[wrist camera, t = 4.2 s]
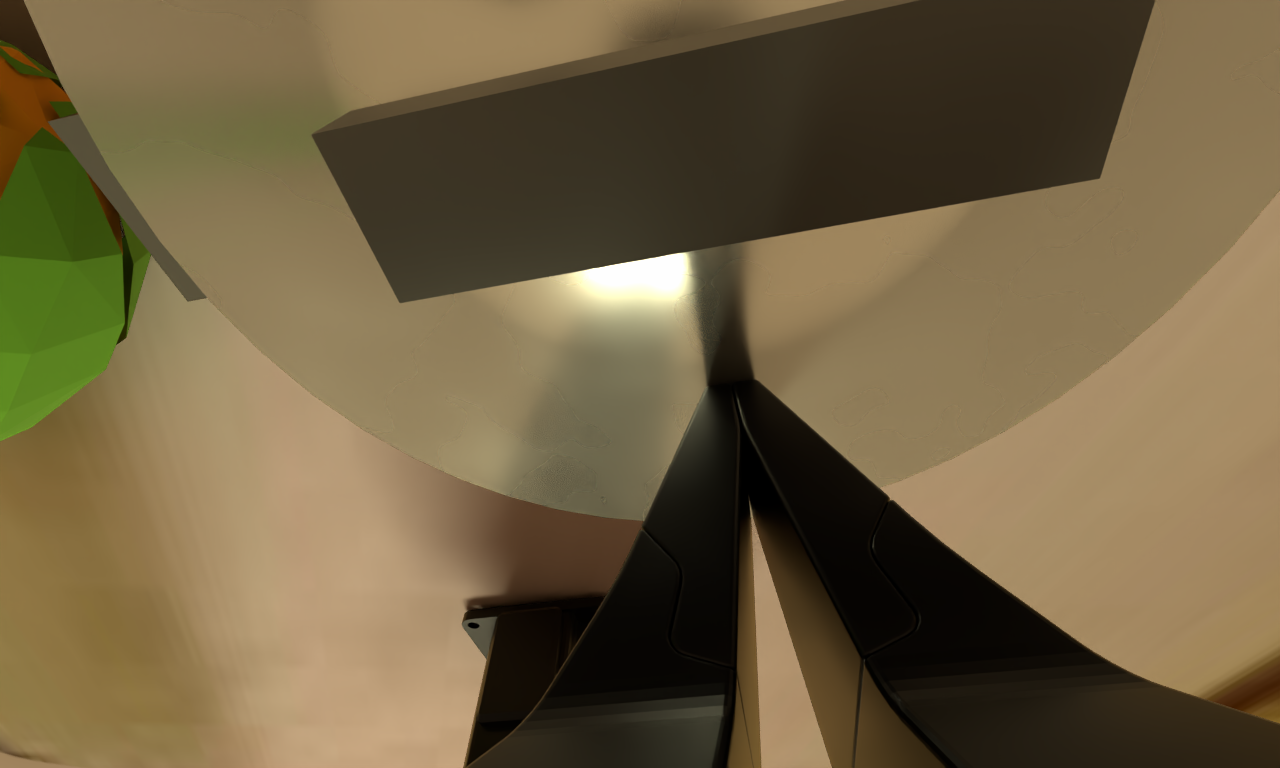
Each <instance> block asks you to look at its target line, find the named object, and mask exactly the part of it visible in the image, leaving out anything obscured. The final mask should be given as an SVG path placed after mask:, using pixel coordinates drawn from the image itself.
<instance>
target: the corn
mask: <svg viewBox="0 0 1280 768" xmlns="http://www.w3.org/2000/svg"><path fill="white" fill-rule="evenodd" d="M61 87H62V84H61V83H60V80H59V78H58V76H57V75H56V74H54V73H53V72H51V71H50V70H48V69H47V68H45V67H44V66H43V65H41V64H40V63H38V62H37V61H35V60H34V59H33V58H31V57H30V56H28V55H27V54H25V53H24V52H22V51H21V50H20V49H18V48H17V47H15V46H14V45H12V44H9V43H7V42H4V41H1V40H0V441H2V440H4V439H6V438H8V437H11V436H13V435H15V434H18V433H20V432H22V431H24V430H27V429H29V428H31V427H33V426H34V425H35V424H37V423H38V422H39V421H40V420H42V419H43V418H44V417H46V416H47V415H48V414H49V413H51V412H52V411H53V410H55V409H56V408H57V407H58V406H60V405H61V404H62V403H63V402H65V401H66V400H67V399H69V398H70V397H71V396H72V395H74V394H75V393H76V392H78V391H79V390H80V389H81V388H83V387H84V386H85V385H86V384H88V383H89V382H90V381H92V380H93V379H94V378H95V377H97V376H98V375H99V374H101V373H102V372H103V371H104V370H106V368H107V365H108V363H109V361H110V358H111V356H112V353H113V351H114V348H115V346H116V345H117V344H118V343H120V342H121V341H122V340H124V339H125V338H126V337H127V334H128V330H129V327H130V324H131V320H132V317H133V314H134V310H135V307H136V303H137V300H138V297H139V293H140V290H141V287H142V283H143V280H144V277H145V273H146V270H147V266H148V263H149V260H150V256H151V254H150V252H149V251H148V250H147V249H146V247H145V246H144V245H143V244H142V242H141V241H140V240H139V238H138V237H137V236H136V235H135V233H134V232H133V231H132V229H131V228H130V227H129V226H128V224H127V223H126V222H125V220H124V219H123V218H122V217H121V215H120V214H119V213H118V211H117V210H116V209H115V208H114V206H113V205H112V204H111V203H110V201H109V200H108V199H107V197H106V196H105V195H104V194H103V192H102V191H101V190H100V188H99V187H98V186H97V185H96V183H95V182H94V181H93V179H92V178H91V177H90V176H89V174H88V173H87V172H86V170H85V169H84V168H83V167H82V165H81V164H80V163H79V162H78V160H77V159H76V158H75V156H74V155H73V154H72V153H71V151H70V150H69V149H68V147H67V146H66V145H65V144H64V142H63V141H62V140H61V138H60V137H59V136H58V135H57V133H56V132H55V131H54V129H53V128H52V127H51V126H50V124H49V123H48V121H52V120H55V119H58V118H62V117H65V116H69V115H72V114H75V113H78V112H77V111H76V109H75V107H74V105H73V104H72V102H71V100H70V98H69V97H68V95H67V94H66V93H65V92H64V91H63V90H62V89H61ZM119 215H120V216H119ZM120 219H121V222H122V226H123V229H124V233H125V236H124V237H123V238H122V237H121V227H120Z"/></svg>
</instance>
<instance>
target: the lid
mask: <svg viewBox="0 0 1280 768" xmlns="http://www.w3.org/2000/svg"><path fill="white" fill-rule="evenodd" d="M24 2H25V5H26V7H27V9H28V11H29V14H30V16H31V18H32V20H33V23H34V25H35V27H36V29H37V31H38V34H39V36H40V38H41V40H42V43H43V45H44V47H45V49H46V51H47V54H48V56H49V58H50V60H51V63H52V65H53V67H54V69H55V71H56V74H57V76H58V78H59V80H60V83H61V84H62V86H63V88H64V90H65V91H66V93H67V95H68V97H69V98H70V100H71V102H72V104H73V105H74V107H75V109H76V111H77V112H78V114H79V116H80V118H81V120H82V121H83V123H84V125H85V127H86V128H87V130H88V132H89V134H90V135H91V137H92V139H93V141H94V142H95V144H96V146H97V148H98V149H99V151H100V153H101V155H102V157H103V158H104V160H105V162H106V164H107V165H108V167H109V169H110V170H111V172H112V173H113V175H114V176H115V178H116V179H117V180H118V182H119V183H120V185H121V186H122V188H123V189H124V190H125V192H126V193H127V195H128V196H129V198H130V199H131V201H132V202H133V203H134V205H135V206H136V208H137V209H138V211H139V212H140V213H141V215H142V216H143V218H144V219H145V221H146V222H147V224H148V225H149V226H150V228H151V229H152V231H153V232H154V234H155V235H156V236H157V238H158V239H159V241H160V242H161V243H162V245H163V246H164V247H165V248H166V249H167V250H168V252H169V253H170V254H171V255H172V256H173V258H174V259H175V260H176V261H177V262H178V264H179V265H180V266H181V267H182V268H183V269H184V271H185V272H186V273H187V274H188V275H189V277H190V278H191V279H192V280H193V281H194V283H195V284H196V285H197V286H198V287H199V289H200V290H201V291H202V292H203V293H204V294H205V296H206V297H207V298H208V299H209V300H210V302H211V303H212V304H213V305H214V306H215V307H216V308H217V309H218V310H219V311H220V312H221V313H222V314H223V315H224V316H225V317H226V318H227V319H228V320H229V321H230V322H231V323H232V324H233V325H234V326H235V327H236V328H237V329H238V330H239V331H240V332H241V333H242V334H243V335H244V336H246V337H247V338H248V339H249V340H250V341H251V342H252V343H253V344H254V345H255V346H256V347H257V348H258V349H259V350H260V351H261V352H262V353H263V354H264V355H265V356H266V357H268V358H269V359H270V360H271V361H272V362H274V363H275V364H276V365H277V366H278V367H280V368H281V369H282V370H283V371H284V372H286V373H287V374H288V375H289V376H290V377H292V378H293V379H294V380H295V381H296V382H298V383H299V384H300V385H301V386H303V387H304V388H305V389H306V390H307V391H309V392H310V393H311V394H312V395H314V396H315V397H316V398H318V399H319V400H321V401H322V402H324V403H325V404H327V405H328V406H329V407H331V408H332V409H334V410H335V411H337V412H338V413H340V414H341V415H343V416H344V417H345V418H347V419H348V420H350V421H351V422H353V423H354V424H356V425H357V426H358V427H360V428H361V429H363V430H365V431H366V432H368V433H370V434H372V435H373V436H375V437H377V438H379V439H381V440H382V441H384V442H386V443H388V444H389V445H391V446H393V447H395V448H396V449H398V450H400V451H402V452H403V453H405V454H407V455H409V456H411V457H412V458H415V459H417V460H419V461H421V462H423V463H425V464H428V465H430V466H432V467H434V468H436V469H439V470H441V471H443V472H445V473H447V474H450V475H452V476H454V477H456V478H458V479H461V480H463V481H466V482H469V483H472V484H475V485H477V486H480V487H483V488H486V489H489V490H491V491H494V492H497V493H500V494H503V495H505V496H508V497H512V498H516V499H519V500H523V501H527V502H531V503H535V504H539V505H542V506H546V507H550V508H554V509H558V510H564V511H569V512H575V513H581V514H587V515H593V516H598V517H604V518H615V519H626V520H638V521H644V520H645V518H646V516H647V514H648V511H649V509H650V507H651V505H652V503H653V500H654V498H655V496H656V494H657V492H658V490H659V487H660V485H661V483H662V481H663V479H664V477H665V474H666V472H667V470H668V468H669V466H670V463H671V461H672V459H673V457H674V455H675V453H676V450H677V448H678V446H679V444H680V442H681V439H682V437H683V435H684V433H685V431H686V429H687V426H688V424H689V422H690V420H691V418H692V415H693V413H694V411H695V409H696V407H697V405H698V402H699V400H700V398H701V396H702V394H703V391H704V390H705V388H706V387H707V386H711V385H718V384H725V383H728V384H730V385H731V386H732V385H733V383H734V382H739V381H745V380H752V379H756V380H758V381H760V382H761V383H762V384H763V385H764V386H765V387H766V388H767V389H769V390H770V391H771V392H772V393H773V394H774V395H775V396H776V397H778V398H779V399H780V400H781V401H782V402H783V403H784V404H785V405H787V406H788V407H789V408H790V409H791V410H792V411H793V412H794V413H796V414H797V415H798V416H799V417H800V418H801V419H802V420H803V421H805V422H806V423H807V424H808V425H809V426H810V427H811V428H812V429H814V430H815V431H816V432H817V433H818V434H819V435H820V436H821V437H823V438H824V439H825V440H826V441H827V442H828V443H829V444H830V445H832V446H833V447H834V448H835V449H836V450H837V451H838V452H839V453H840V454H842V455H843V456H844V457H845V458H846V459H847V460H848V461H849V462H851V463H852V464H853V465H854V466H855V467H856V468H857V469H858V470H860V471H861V472H862V473H863V474H864V475H865V476H866V477H867V478H869V479H870V480H871V481H872V482H873V483H874V484H875V485H876V486H878V487H879V488H880V487H883V486H886V485H889V484H892V483H895V482H898V481H901V480H903V479H906V478H908V477H910V476H913V475H915V474H918V473H920V472H922V471H925V470H927V469H929V468H932V467H934V466H937V465H939V464H941V463H944V462H946V461H948V460H951V459H953V458H955V457H957V456H959V455H960V454H962V453H964V452H966V451H968V450H970V449H972V448H974V447H976V446H978V445H980V444H982V443H984V442H986V441H987V440H989V439H991V438H993V437H995V436H997V435H999V434H1001V433H1003V432H1005V431H1006V430H1008V429H1010V428H1011V427H1013V426H1014V425H1016V424H1018V423H1019V422H1021V421H1022V420H1024V419H1026V418H1027V417H1029V416H1031V415H1032V414H1034V413H1035V412H1037V411H1039V410H1040V409H1042V408H1043V407H1045V406H1047V405H1048V404H1050V403H1051V402H1053V401H1055V400H1056V399H1058V398H1059V397H1061V396H1062V395H1063V394H1065V393H1066V392H1068V391H1069V390H1070V389H1072V388H1073V387H1074V386H1076V385H1077V384H1078V383H1080V382H1081V381H1083V380H1084V379H1085V378H1087V377H1088V376H1089V375H1091V374H1092V373H1093V372H1095V371H1096V370H1097V369H1099V368H1100V367H1102V366H1103V365H1104V364H1106V363H1107V362H1108V361H1110V360H1111V359H1112V358H1114V357H1115V356H1116V355H1117V354H1119V353H1120V352H1121V351H1122V350H1123V349H1124V348H1126V347H1127V346H1128V345H1129V344H1130V343H1131V342H1133V341H1134V340H1135V339H1136V338H1137V337H1138V336H1139V335H1141V334H1142V333H1143V332H1144V331H1145V330H1146V329H1148V328H1149V327H1150V326H1151V325H1152V324H1153V323H1155V322H1156V321H1157V320H1158V319H1159V318H1160V317H1161V316H1163V315H1164V314H1165V313H1166V312H1167V311H1168V310H1170V309H1171V308H1172V307H1173V306H1174V305H1175V304H1176V303H1177V302H1178V301H1179V300H1180V299H1181V298H1182V297H1183V296H1184V295H1185V294H1186V293H1187V292H1188V291H1189V290H1190V289H1191V288H1192V287H1193V286H1194V285H1195V284H1196V283H1197V282H1198V281H1199V280H1200V279H1201V278H1202V277H1203V276H1204V275H1205V274H1206V273H1207V272H1208V271H1209V270H1210V269H1211V268H1212V267H1213V266H1214V265H1215V264H1216V263H1217V262H1218V261H1219V260H1220V259H1221V258H1222V257H1223V255H1224V254H1225V253H1226V252H1227V251H1228V250H1229V249H1230V248H1231V247H1232V246H1233V245H1234V244H1235V243H1236V242H1237V240H1238V239H1239V238H1240V237H1241V236H1242V234H1243V233H1244V232H1245V231H1246V230H1247V228H1248V227H1249V226H1250V225H1251V224H1252V223H1253V221H1254V220H1255V219H1256V218H1257V217H1258V215H1259V214H1260V213H1261V212H1262V211H1263V210H1264V208H1265V207H1266V206H1267V205H1268V204H1269V202H1270V201H1271V200H1272V199H1273V198H1274V197H1275V195H1276V194H1277V193H1278V192H1279V191H1280V0H24ZM749 502H750V501H749ZM750 511H751V506H750ZM751 518H753V515H752V511H751Z"/></svg>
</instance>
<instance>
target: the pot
mask: <svg viewBox="0 0 1280 768" xmlns="http://www.w3.org/2000/svg"><path fill="white" fill-rule="evenodd" d="M48 123H49V124H50V126H51V127H52V128H53V129H54V131H55V132H56V133H57V135H58V136H59V137H60V138H61V140H62V141H63V142H64V144H65V145H66V146H67V147H68V149H69V150H70V151H71V153H72V154H73V155H74V156H75V158H76V159H77V160H78V162H79V163H80V164H81V165H82V167H83V168H84V169H85V170H86V172H87V173H88V174H89V176H90V177H91V178H92V179H93V181H94V182H95V183H96V185H97V186H98V187H99V188H100V190H101V191H102V192H103V194H104V195H105V196H106V197H107V199H108V200H109V201H110V203H111V204H112V205H113V206H114V208H115V209H116V210H117V211H118V213H119V214H120V215H121V217H122V218H123V219H124V220H125V222H126V223H127V224H128V226H129V227H130V228H131V229H132V231H133V232H134V233H135V235H136V236H137V237H138V238H139V240H140V241H141V242H142V244H143V245H144V246H145V247H146V249H147V250H148V251H149V252H150V254H151V255H152V256H153V258H154V259H155V260H156V261H157V263H158V264H159V265H160V267H161V268H162V269H163V270H164V272H165V273H166V274H167V276H168V277H169V278H170V279H171V281H172V282H173V283H174V285H175V286H176V287H177V288H178V290H179V291H180V292H181V293H182V295H183V296H184V297H185V299H186V300H187V301H193V300H199V299H204V298H207V297H206V296H205V294H204V293H203V292H202V291H201V290H200V289H199V287H198V286H197V285H196V284H195V283H194V281H193V280H192V279H191V278H190V277H189V275H188V274H187V273H186V272H185V271H184V269H183V268H182V267H181V266H180V265H179V264H178V262H177V261H176V260H175V259H174V258H173V256H172V255H171V254H170V253H169V252H168V250H167V249H166V248H165V247H164V246H163V245H162V243H161V242H160V241H159V239H158V238H157V236H156V235H155V234H154V232H153V231H152V229H151V228H150V226H149V225H148V224H147V222H146V221H145V219H144V218H143V216H142V215H141V213H140V212H139V211H138V209H137V208H136V206H135V205H134V203H133V202H132V201H131V199H130V198H129V196H128V195H127V193H126V192H125V190H124V189H123V188H122V186H121V185H120V183H119V182H118V180H117V179H116V178H115V176H114V175H113V173H112V172H111V170H110V169H109V167H108V165H107V164H106V162H105V160H104V158H103V157H102V155H101V153H100V151H99V149H98V148H97V146H96V144H95V142H94V141H93V139H92V137H91V135H90V134H89V132H88V130H87V128H86V127H85V125H84V123H83V121H82V120H81V118H80V116H79V114H78V113H75V114H72V115H69V116H65V117H62V118H58V119H55V120H52V121H48Z"/></svg>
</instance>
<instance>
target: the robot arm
mask: <svg viewBox="0 0 1280 768" xmlns="http://www.w3.org/2000/svg"><path fill="white" fill-rule="evenodd" d="M749 501H750V502H749ZM750 506H751V511H752V515H753V518H754V522H755V526H756V529H757V532H758V535H759V538H760V541H761V545H762V548H763V551H764V554H765V557H766V560H767V564H768V567H769V570H770V573H771V576H772V579H773V582H774V586H775V589H776V592H777V595H778V598H779V601H780V605H781V608H782V611H783V614H784V617H785V620H786V624H787V627H788V630H789V633H790V636H791V639H792V643H793V646H794V649H795V652H796V655H797V658H798V661H799V665H800V668H801V671H802V674H803V677H804V680H805V684H806V687H807V690H808V693H809V696H810V699H811V703H812V706H813V709H814V712H815V715H816V718H817V722H818V725H819V728H820V731H821V734H822V737H823V740H824V744H825V747H826V750H827V753H828V756H829V759H830V763H831V766H832V768H1280V724H1279V723H1276V722H1273V721H1270V720H1267V719H1264V718H1261V717H1258V716H1255V715H1252V714H1248V713H1245V712H1242V711H1239V710H1236V709H1233V708H1230V707H1227V706H1224V705H1221V704H1218V703H1215V702H1212V701H1208V700H1205V699H1202V698H1199V697H1196V696H1193V695H1190V694H1187V693H1184V692H1181V691H1178V690H1175V689H1172V688H1169V687H1166V686H1163V685H1160V684H1157V683H1154V682H1151V681H1149V680H1147V679H1145V678H1142V677H1140V676H1138V675H1135V674H1133V673H1131V672H1129V671H1127V670H1125V669H1123V668H1121V667H1120V666H1118V665H1116V664H1114V663H1112V662H1110V661H1109V660H1107V659H1105V658H1103V657H1102V656H1100V655H1098V654H1097V653H1095V652H1093V651H1092V650H1090V649H1089V648H1087V647H1086V646H1084V645H1083V644H1081V643H1080V642H1079V641H1077V640H1076V639H1074V638H1073V637H1071V636H1070V635H1069V634H1067V633H1066V632H1064V631H1063V630H1062V629H1060V628H1059V627H1057V626H1056V625H1055V624H1053V623H1052V622H1050V621H1049V620H1048V619H1046V618H1045V617H1044V616H1042V615H1041V614H1039V613H1038V612H1037V611H1035V610H1034V609H1032V608H1031V607H1030V606H1028V605H1027V604H1025V603H1024V602H1023V601H1021V600H1020V599H1019V598H1017V597H1016V596H1014V595H1013V594H1012V593H1010V592H1009V591H1007V590H1006V589H1005V588H1003V587H1002V586H1000V585H999V584H998V583H996V582H995V581H993V580H992V579H991V578H989V577H988V576H987V575H985V574H984V573H982V572H981V571H980V570H978V569H977V568H976V567H974V566H973V565H972V564H970V563H969V562H968V561H966V560H965V559H964V558H962V557H961V556H960V555H958V554H957V553H956V552H954V551H953V550H952V549H950V548H949V547H948V546H946V545H945V544H944V543H942V542H941V541H940V540H939V539H938V538H936V537H935V536H934V535H933V534H932V533H930V532H929V531H928V530H927V529H926V528H925V527H923V526H922V525H921V524H920V523H919V522H917V521H916V520H915V519H914V518H913V517H911V516H910V515H909V514H908V513H907V512H906V511H905V510H904V509H902V508H901V507H900V506H899V505H898V504H897V503H896V502H895V501H893V500H890V498H889V496H888V495H887V494H885V493H884V492H883V491H882V490H881V489H880V488H879V487H878V486H876V485H875V484H874V483H873V482H872V481H871V480H870V479H869V478H867V477H866V476H865V475H864V474H863V473H862V472H861V471H860V470H858V469H857V468H856V467H855V466H854V465H853V464H852V463H851V462H849V461H848V460H847V459H846V458H845V457H844V456H843V455H842V454H840V453H839V452H838V451H837V450H836V449H835V448H834V447H833V446H832V445H830V444H829V443H828V442H827V441H826V440H825V439H824V438H823V437H821V436H820V435H819V434H818V433H817V432H816V431H815V430H814V429H812V428H811V427H810V426H809V425H808V424H807V423H806V422H805V421H803V420H802V419H801V418H800V417H799V416H798V415H797V414H796V413H794V412H793V411H792V410H791V409H790V408H789V407H788V406H787V405H785V404H784V403H783V402H782V401H781V400H780V399H779V398H778V397H776V396H775V395H774V394H773V393H772V392H771V391H770V390H769V389H767V388H766V387H765V386H764V385H763V384H762V383H761V382H760V381H758V380H756V379H752V380H745V381H739V382H734V383H733V385H732V386H731V385H730V384H728V383H725V384H718V385H711V386H707V387H706V388H705V390H704V391H703V394H702V396H701V398H700V400H699V402H698V405H697V407H696V409H695V411H694V413H693V415H692V418H691V420H690V422H689V424H688V426H687V429H686V431H685V433H684V435H683V437H682V439H681V442H680V444H679V446H678V448H677V450H676V453H675V455H674V457H673V459H672V461H671V463H670V466H669V468H668V470H667V472H666V474H665V477H664V479H663V481H662V483H661V485H660V487H659V490H658V492H657V494H656V496H655V498H654V500H653V503H652V505H651V507H650V509H649V511H648V514H647V516H646V518H645V520H644V522H643V524H642V527H641V529H642V530H640V531H639V533H638V535H637V537H636V539H635V541H634V544H633V546H632V548H631V550H630V552H629V554H628V556H627V558H626V560H625V562H624V564H623V566H622V568H621V570H620V572H619V574H618V576H617V578H616V580H615V581H614V583H613V585H612V586H611V588H610V590H609V592H608V593H607V595H606V597H605V598H603V597H594V598H584V599H575V600H566V601H556V602H547V603H538V604H528V605H519V606H510V607H500V608H491V609H482V610H472V611H468V612H466V613H465V614H464V618H463V621H462V627H463V628H464V629H465V631H466V632H467V633H468V635H469V636H470V637H471V639H472V640H473V642H474V643H475V644H476V646H477V647H478V648H479V650H480V651H481V652H482V654H483V655H484V656H485V658H486V659H487V661H486V665H485V670H484V674H483V679H482V684H481V688H480V693H479V697H478V702H477V707H476V711H475V716H474V720H473V725H472V730H471V734H470V739H469V743H468V748H467V753H466V757H465V762H464V767H463V768H761V746H760V721H759V696H758V671H757V646H756V621H755V596H754V571H753V546H752V524H751V511H750Z"/></svg>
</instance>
